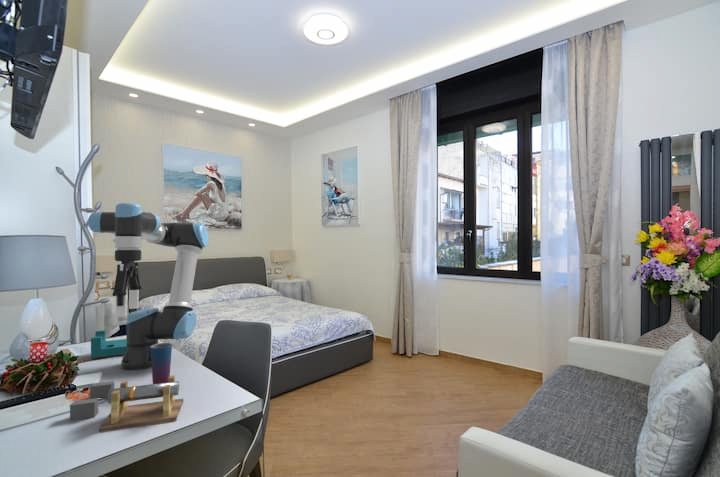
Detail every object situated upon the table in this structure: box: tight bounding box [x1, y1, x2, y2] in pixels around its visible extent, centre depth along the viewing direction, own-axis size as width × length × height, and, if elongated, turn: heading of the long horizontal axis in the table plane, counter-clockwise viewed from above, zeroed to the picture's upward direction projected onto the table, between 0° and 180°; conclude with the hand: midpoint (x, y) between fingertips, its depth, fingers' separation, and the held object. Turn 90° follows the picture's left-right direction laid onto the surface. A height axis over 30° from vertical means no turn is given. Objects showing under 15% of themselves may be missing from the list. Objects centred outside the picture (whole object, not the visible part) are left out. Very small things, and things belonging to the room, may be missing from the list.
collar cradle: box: [98, 374, 184, 433], centre depth 105 cm, size 13×19×10 cm
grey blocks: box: [69, 380, 115, 422], centre depth 111 cm, size 17×6×4 cm, turn 19°
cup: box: [151, 342, 173, 384], centre depth 126 cm, size 7×7×15 cm
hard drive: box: [71, 371, 103, 389], centre depth 131 cm, size 2×8×12 cm
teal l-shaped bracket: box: [90, 329, 127, 359], centre depth 164 cm, size 18×11×10 cm, turn 117°
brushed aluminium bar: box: [106, 380, 180, 405], centre depth 105 cm, size 18×4×4 cm, turn 109°
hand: (127, 312), depth 118 cm, fingers open, 13 cm apart
